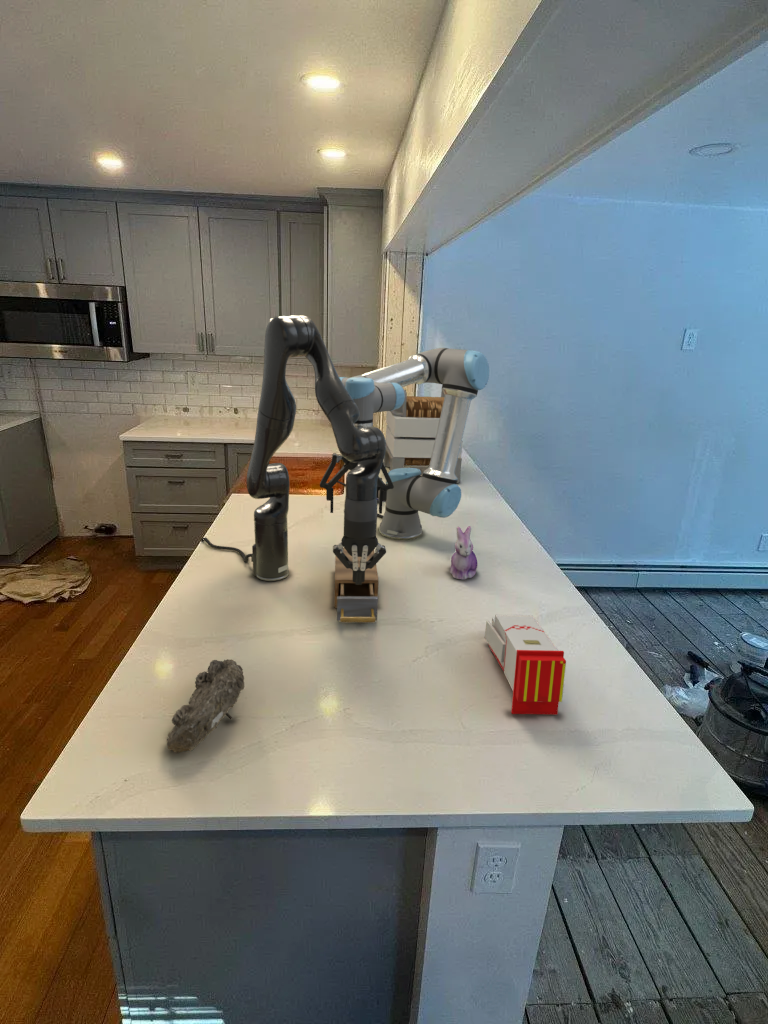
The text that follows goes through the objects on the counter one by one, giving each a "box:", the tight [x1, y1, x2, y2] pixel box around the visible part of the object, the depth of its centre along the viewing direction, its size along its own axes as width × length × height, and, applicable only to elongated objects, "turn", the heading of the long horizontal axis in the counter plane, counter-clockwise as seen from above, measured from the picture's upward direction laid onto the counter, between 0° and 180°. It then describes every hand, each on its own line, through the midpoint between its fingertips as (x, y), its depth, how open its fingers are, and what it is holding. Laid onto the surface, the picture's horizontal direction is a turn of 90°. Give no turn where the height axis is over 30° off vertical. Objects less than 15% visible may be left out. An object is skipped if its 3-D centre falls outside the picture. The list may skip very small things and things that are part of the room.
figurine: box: [449, 525, 479, 580], centre depth 169 cm, size 9×10×15 cm
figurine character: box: [377, 477, 383, 503], centre depth 234 cm, size 7×8×15 cm
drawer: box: [336, 583, 379, 623], centre depth 147 cm, size 25×10×6 cm, turn 4°
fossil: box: [166, 658, 245, 754], centre depth 106 cm, size 22×10×15 cm
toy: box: [484, 614, 567, 716], centre depth 124 cm, size 12×13×30 cm
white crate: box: [383, 388, 464, 484], centre depth 268 cm, size 34×33×41 cm
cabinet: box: [334, 547, 379, 609], centre depth 158 cm, size 21×11×8 cm, turn 4°
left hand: (358, 583), depth 135 cm, fingers closed
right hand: (356, 511), depth 159 cm, fingers open, 13 cm apart
